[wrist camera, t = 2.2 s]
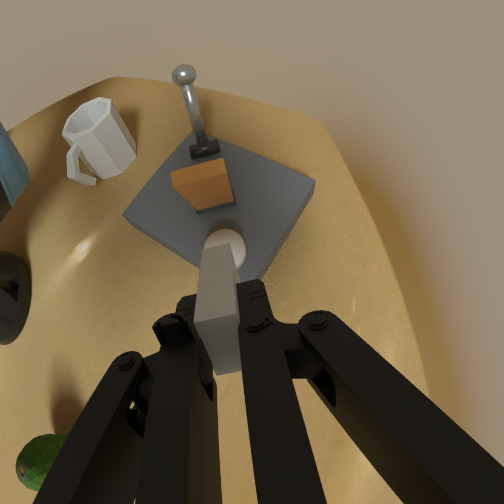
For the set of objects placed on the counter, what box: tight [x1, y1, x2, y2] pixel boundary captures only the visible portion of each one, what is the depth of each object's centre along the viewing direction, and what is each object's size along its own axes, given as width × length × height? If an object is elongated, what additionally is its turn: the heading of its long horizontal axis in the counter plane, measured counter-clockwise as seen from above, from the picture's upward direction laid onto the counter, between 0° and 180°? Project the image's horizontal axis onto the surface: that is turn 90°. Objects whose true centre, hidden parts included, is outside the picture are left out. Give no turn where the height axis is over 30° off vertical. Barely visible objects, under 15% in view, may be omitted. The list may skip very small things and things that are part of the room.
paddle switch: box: [170, 158, 237, 215], centre depth 26 cm, size 4×2×12 cm, turn 103°
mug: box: [62, 97, 137, 185], centre depth 35 cm, size 12×9×10 cm
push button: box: [204, 229, 247, 271], centre depth 29 cm, size 4×4×2 cm
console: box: [122, 131, 316, 282], centre depth 34 cm, size 18×15×3 cm
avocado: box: [16, 434, 67, 491], centre depth 19 cm, size 8×8×12 cm
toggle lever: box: [172, 64, 220, 159], centre depth 30 cm, size 4×3×12 cm
